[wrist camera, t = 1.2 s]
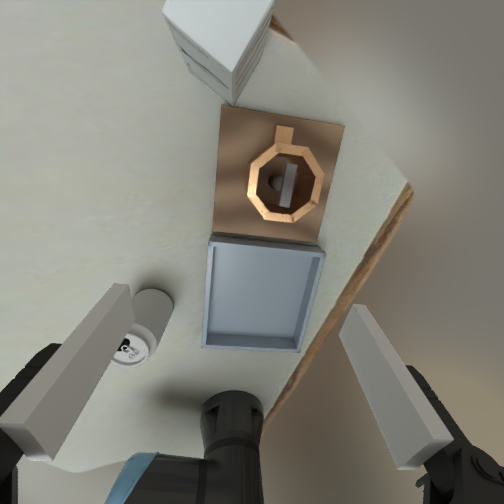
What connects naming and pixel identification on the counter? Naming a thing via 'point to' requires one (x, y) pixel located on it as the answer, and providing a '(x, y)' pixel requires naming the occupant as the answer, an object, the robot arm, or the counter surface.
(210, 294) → the tray
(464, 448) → the robot arm
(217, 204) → the stake stand
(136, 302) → the can
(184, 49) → the supplement box
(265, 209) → the mug
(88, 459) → the counter surface
